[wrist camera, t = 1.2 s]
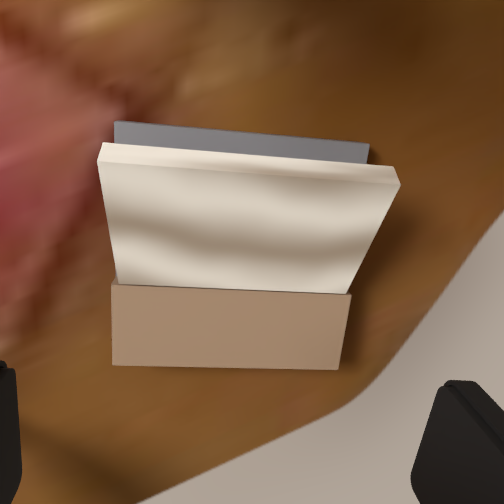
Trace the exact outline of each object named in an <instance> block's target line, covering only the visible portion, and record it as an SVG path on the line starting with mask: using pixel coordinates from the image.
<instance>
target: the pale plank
mask: <svg viewBox="0 0 504 504" xmlns="http://www.w3.org/2000/svg"><path fill="white" fill-rule="evenodd" d="M97 164H98V170H99V176H100V181H101V187H102V193H103V198H104V204H105V210H106V215H107V221H108V227H109V232H110V238H111V244H112V249H113V255H114V261H115V266H116V272H117V278H118V283H119V284H132V285H155V286H178V287H201V288H224V289H246V290H269V291H292V292H315V293H338V294H346V292H347V290H348V288H349V287H350V285H351V283H352V281H353V279H354V277H355V275H356V273H357V271H358V269H359V267H360V265H361V263H362V261H363V259H364V257H365V255H366V253H367V251H368V249H369V247H370V245H371V243H372V241H373V239H374V237H375V235H376V233H377V231H378V229H379V227H380V225H381V223H382V221H383V219H384V217H385V215H386V213H387V211H388V209H389V207H390V205H391V203H392V201H393V199H394V197H395V195H396V193H397V191H398V189H399V187H400V185H401V184H400V182H399V179H398V177H397V174H396V172H395V170H394V167H393V166H381V165H369V164H357V163H345V162H333V161H321V160H308V159H296V158H284V157H272V156H260V155H248V154H236V153H224V152H212V151H200V150H188V149H176V148H164V147H152V146H140V145H128V144H116V143H104V142H103V144H102V147H101V150H100V153H99V156H98V160H97Z"/></svg>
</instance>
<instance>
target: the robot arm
mask: <svg viewBox="0 0 504 504" xmlns="http://www.w3.org/2000/svg"><path fill="white" fill-rule="evenodd" d="M21 476H22V459H21V444H20V430H19V415H18V401H17V386H16V374H15V370H14V369H13V368H7V365H6V363H5V362H4V361H0V504H11V502H12V500H13V498H14V496H15V494H16V492H17V490H18V487H19V484H20V481H21ZM411 485H412V489H413V491H414V493H415V495H416V497H417V499H418V501H419V502H420V504H504V411H503V410H502V409H501V408H500V407H499V406H498V405H497V404H496V402H494V400H493V399H492V398H491V397H490V396H489V395H488V394H487V393H486V392H485V391H484V390H483V389H482V388H481V387H480V386H479V385H478V384H477V383H476V382H473V381H461V380H449V381H447V382H446V383H445V384H444V386H441V387H440V388H439V389H438V391H437V394H436V397H435V400H434V403H433V406H432V410H431V412H430V415H429V419H428V422H427V425H426V428H425V431H424V434H423V437H422V440H421V443H420V446H419V450H418V453H417V456H416V459H415V462H414V465H413V468H412V472H411Z"/></svg>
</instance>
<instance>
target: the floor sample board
mask: <svg viewBox="0 0 504 504" xmlns="http://www.w3.org/2000/svg"><path fill="white" fill-rule="evenodd" d="M114 143H116V144H128V145H140V146H152V147H164V148H176V149H188V150H200V151H212V152H224V153H236V154H248V155H260V156H272V157H284V158H296V159H308V160H321V161H333V162H345V163H357V164H366V163H367V157H368V151H369V146H370V144H367V143H363V142H354V141H342V140H331V139H320V138H309V137H298V136H287V135H276V134H264V133H253V132H242V131H231V130H220V129H209V128H198V127H186V126H175V125H164V124H153V123H142V122H131V121H114ZM350 301H351V294H350V293H349V291H348V290H347V292H346V294H338V293H315V292H292V291H269V290H246V289H224V288H201V287H178V286H155V285H132V284H119V283H118V278H117V272H116V277H115V279H114V281H113V282H112V284H111V304H112V365H123V366H171V367H220V368H268V369H316V370H338V367H339V361H340V356H341V350H342V345H343V339H344V334H345V328H346V323H347V317H348V312H349V306H350Z"/></svg>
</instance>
